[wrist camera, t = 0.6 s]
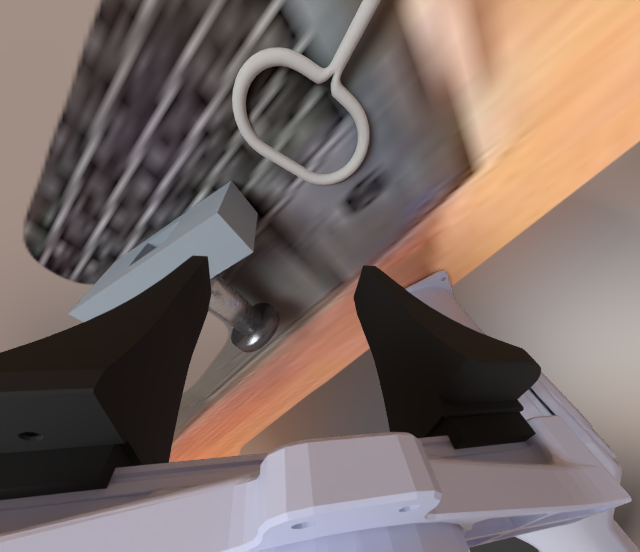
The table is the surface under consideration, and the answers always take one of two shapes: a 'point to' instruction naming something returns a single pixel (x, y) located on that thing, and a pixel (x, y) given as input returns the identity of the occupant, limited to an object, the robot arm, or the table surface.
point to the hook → (318, 76)
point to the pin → (243, 316)
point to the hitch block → (177, 250)
